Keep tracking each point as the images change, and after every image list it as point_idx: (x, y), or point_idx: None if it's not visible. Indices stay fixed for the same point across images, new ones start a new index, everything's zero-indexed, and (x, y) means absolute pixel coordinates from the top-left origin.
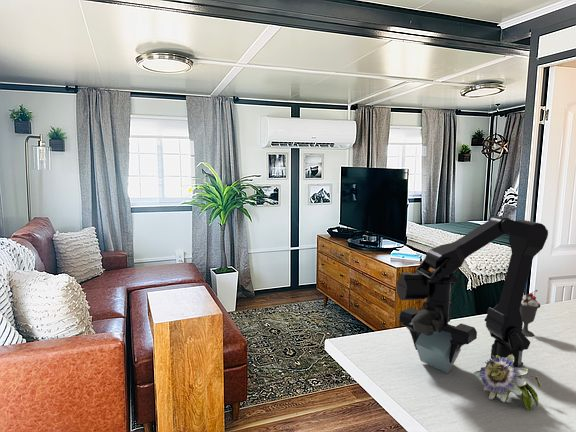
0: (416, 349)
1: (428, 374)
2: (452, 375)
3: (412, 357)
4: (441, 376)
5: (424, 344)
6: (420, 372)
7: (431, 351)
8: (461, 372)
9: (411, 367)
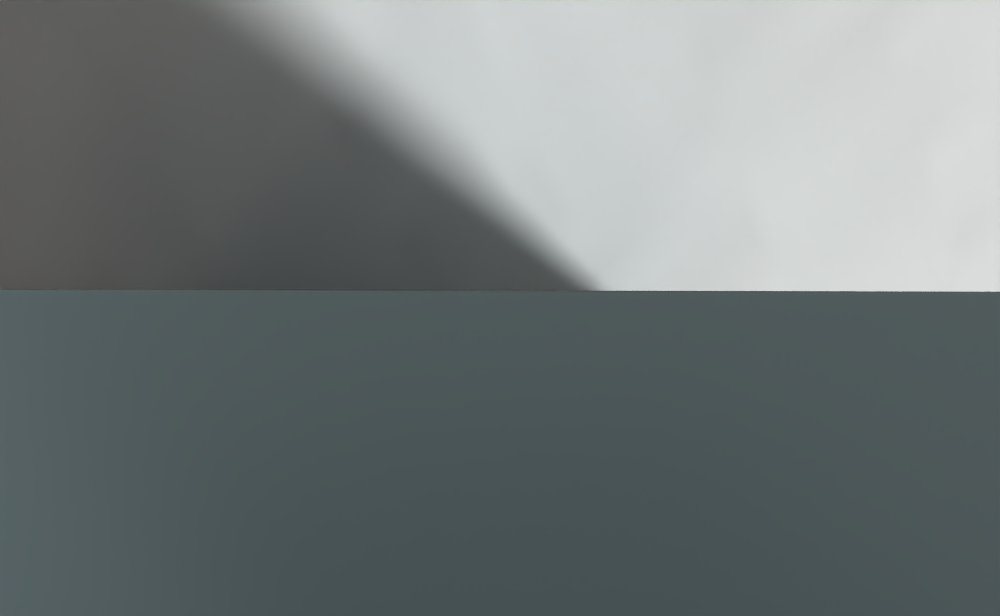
0: None
1: (376, 69)
2: None
3: None
4: (141, 207)
5: (727, 567)
6: (552, 9)
7: (25, 301)
8: None
9: (803, 62)
